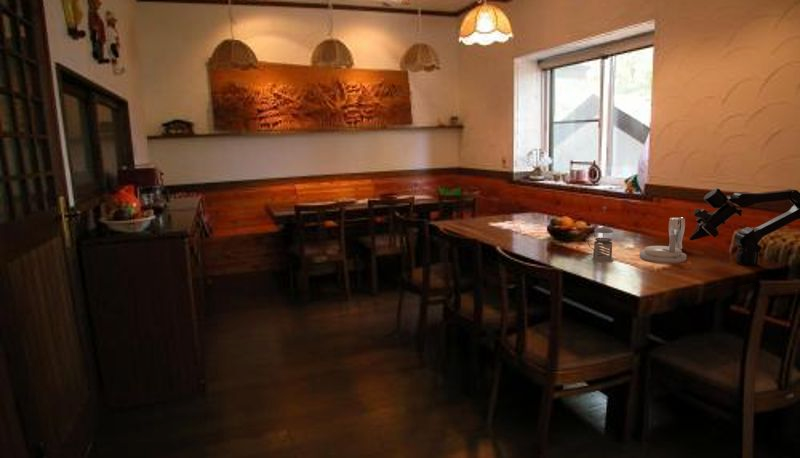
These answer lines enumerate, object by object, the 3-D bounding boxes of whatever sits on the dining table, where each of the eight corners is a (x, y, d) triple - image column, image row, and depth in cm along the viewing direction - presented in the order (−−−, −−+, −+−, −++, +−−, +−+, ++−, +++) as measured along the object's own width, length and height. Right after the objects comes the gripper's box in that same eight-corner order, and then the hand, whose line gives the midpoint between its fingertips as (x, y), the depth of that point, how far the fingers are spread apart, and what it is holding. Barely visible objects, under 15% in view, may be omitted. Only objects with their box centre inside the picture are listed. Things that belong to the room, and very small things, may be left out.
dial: (637, 251, 230) (638, 230, 229) (666, 248, 233) (667, 228, 231) (658, 258, 216) (659, 236, 214) (689, 256, 218) (690, 234, 216)
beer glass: (686, 249, 239) (688, 219, 236) (671, 249, 239) (673, 219, 236) (678, 246, 246) (680, 216, 243) (664, 246, 246) (666, 217, 243)
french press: (616, 262, 220) (618, 207, 215) (589, 262, 222) (590, 208, 218) (611, 257, 229) (613, 204, 225) (585, 257, 232) (587, 205, 227)
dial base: (630, 254, 232) (631, 250, 232) (667, 252, 235) (667, 247, 235) (657, 264, 214) (657, 259, 214) (696, 261, 217) (696, 256, 216)
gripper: (702, 199, 218) (672, 223, 224) (711, 205, 201) (679, 230, 207) (721, 217, 217) (691, 240, 223) (732, 224, 200) (699, 249, 205)
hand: (689, 239), depth 214 cm, fingers closed
